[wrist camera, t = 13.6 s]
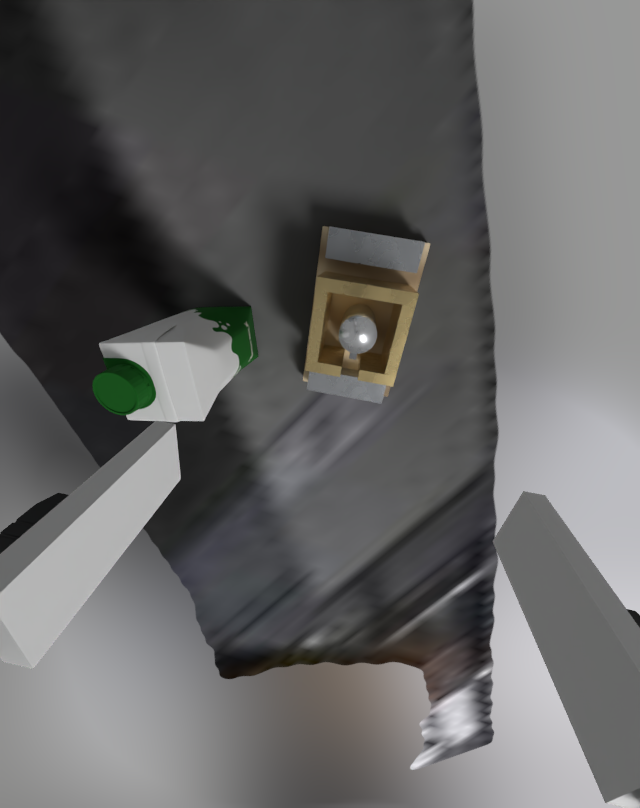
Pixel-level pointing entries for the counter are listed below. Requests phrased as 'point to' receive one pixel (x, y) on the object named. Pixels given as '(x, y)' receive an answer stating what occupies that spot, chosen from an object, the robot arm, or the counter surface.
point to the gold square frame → (369, 364)
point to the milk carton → (176, 364)
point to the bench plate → (361, 299)
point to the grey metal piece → (360, 318)
